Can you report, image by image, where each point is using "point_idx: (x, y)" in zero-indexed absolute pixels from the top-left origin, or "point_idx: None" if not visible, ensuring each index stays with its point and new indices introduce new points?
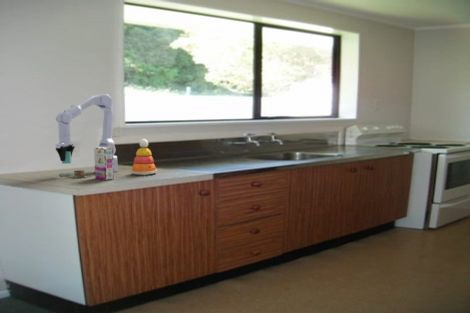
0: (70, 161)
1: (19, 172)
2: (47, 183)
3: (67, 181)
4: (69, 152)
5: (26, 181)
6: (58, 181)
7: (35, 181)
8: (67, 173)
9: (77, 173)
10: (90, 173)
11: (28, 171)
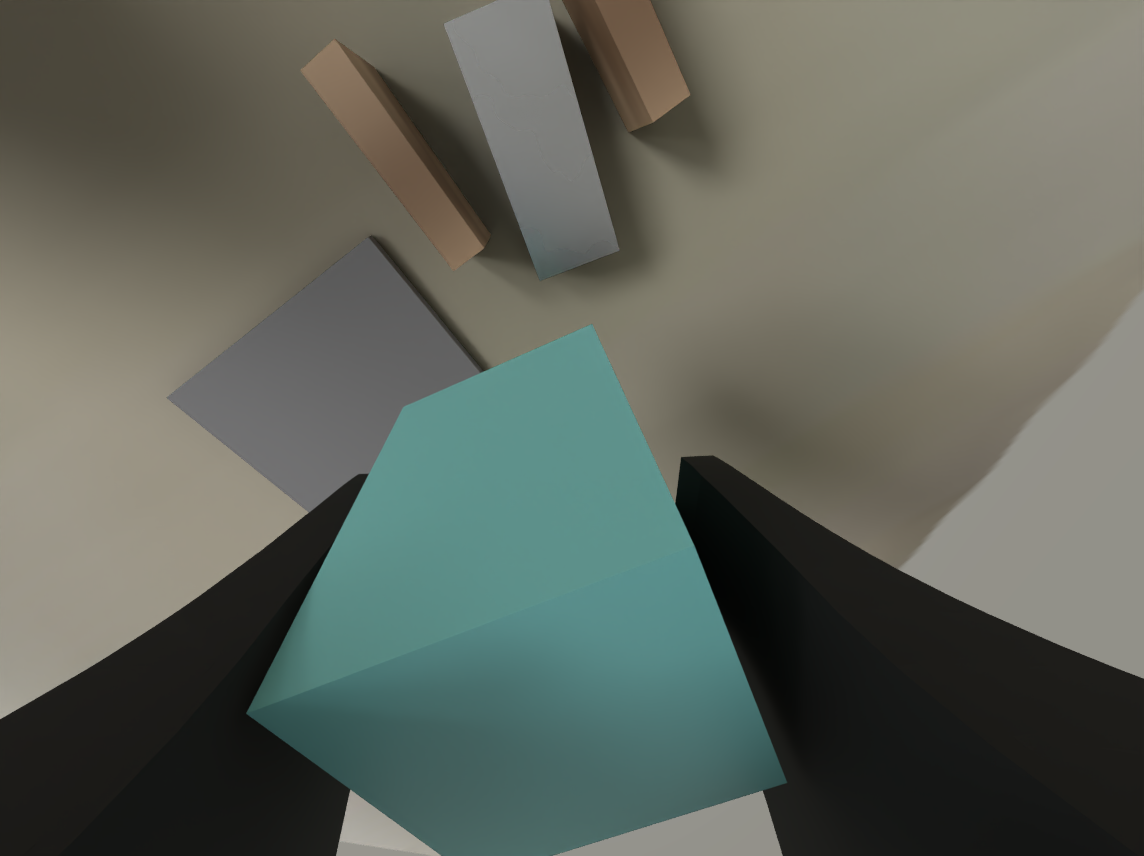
0: (522, 371)
1: (427, 848)
2: (1107, 269)
3: (1000, 36)
4: (689, 538)
5: (896, 567)
6: (966, 210)
7: (911, 493)
8: (330, 475)
9: (653, 34)
10: (36, 121)
11: (354, 837)
